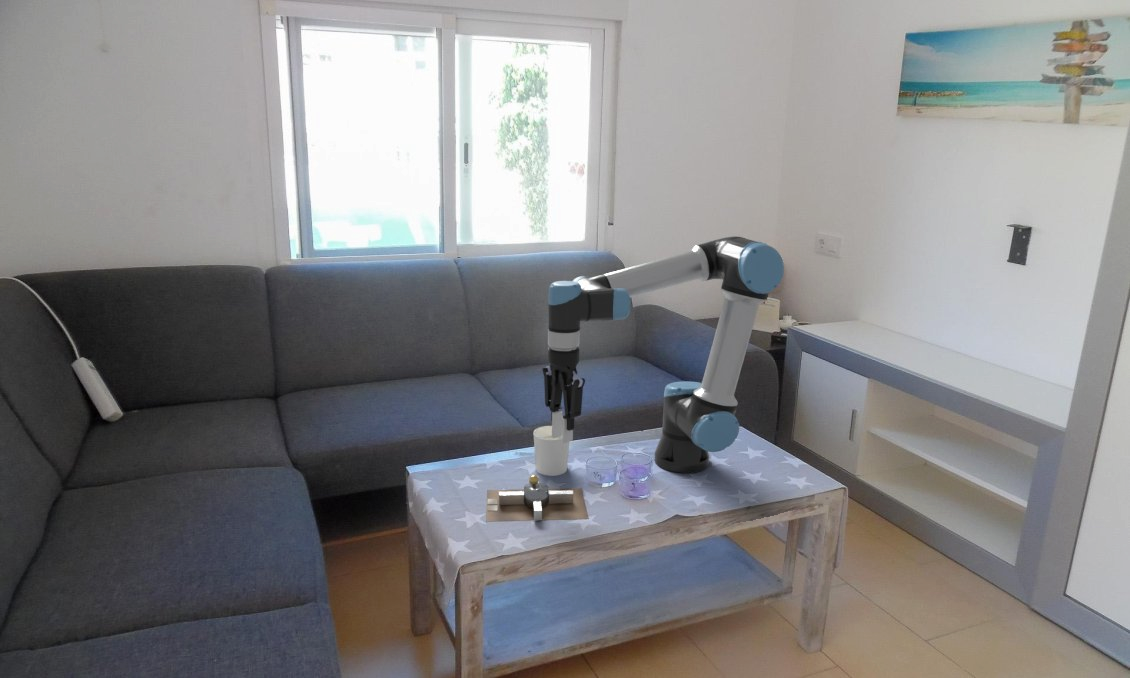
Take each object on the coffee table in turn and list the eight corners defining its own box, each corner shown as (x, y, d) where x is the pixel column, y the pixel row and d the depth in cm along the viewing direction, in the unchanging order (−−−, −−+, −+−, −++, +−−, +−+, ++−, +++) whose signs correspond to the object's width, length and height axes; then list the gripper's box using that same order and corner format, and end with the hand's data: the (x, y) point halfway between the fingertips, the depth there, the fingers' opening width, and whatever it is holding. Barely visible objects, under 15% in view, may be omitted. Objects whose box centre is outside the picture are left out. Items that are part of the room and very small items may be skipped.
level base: (581, 493, 198) (581, 487, 198) (588, 524, 183) (588, 518, 182) (487, 495, 196) (487, 489, 196) (486, 527, 181) (486, 520, 180)
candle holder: (565, 483, 204) (566, 441, 200) (529, 479, 205) (529, 437, 202) (572, 468, 213) (573, 427, 210) (537, 464, 215) (538, 424, 212)
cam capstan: (569, 485, 198) (570, 462, 197) (576, 520, 181) (577, 495, 179) (499, 487, 197) (498, 463, 195) (499, 522, 180) (498, 496, 178)
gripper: (598, 352, 180) (596, 445, 186) (554, 336, 192) (553, 425, 198) (574, 357, 175) (572, 453, 182) (530, 341, 188) (529, 432, 194)
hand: (562, 438), depth 190 cm, fingers open, 3 cm apart
